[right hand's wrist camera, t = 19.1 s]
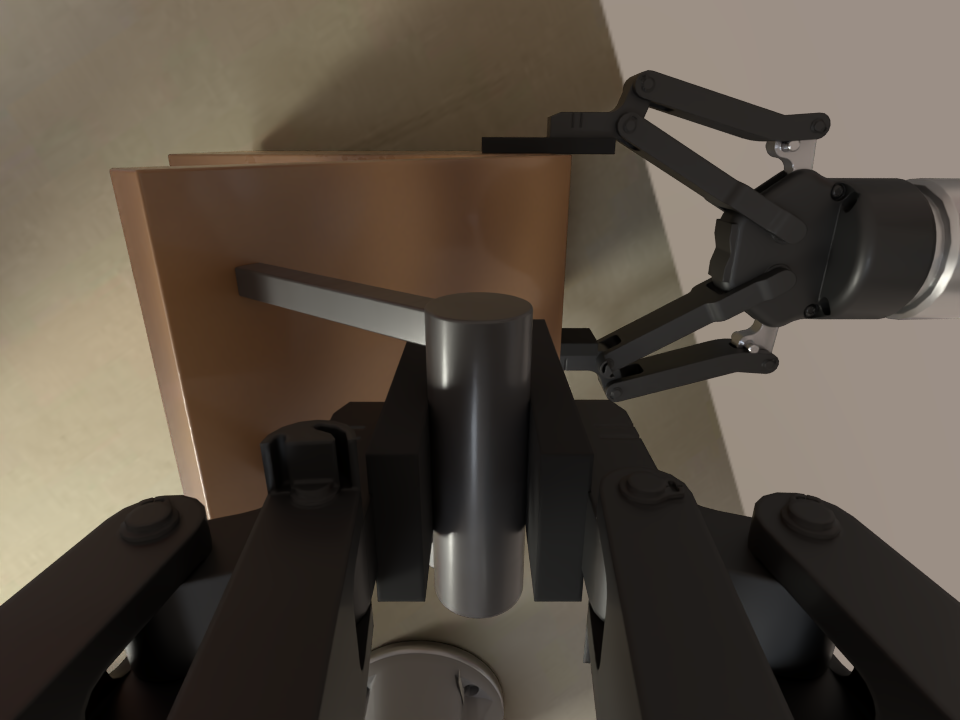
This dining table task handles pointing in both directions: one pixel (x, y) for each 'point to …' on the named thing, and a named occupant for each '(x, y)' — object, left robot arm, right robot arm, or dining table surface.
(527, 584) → the dining table surface
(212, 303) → the lid
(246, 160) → the chest
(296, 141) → the dining table surface
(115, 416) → the dining table surface
